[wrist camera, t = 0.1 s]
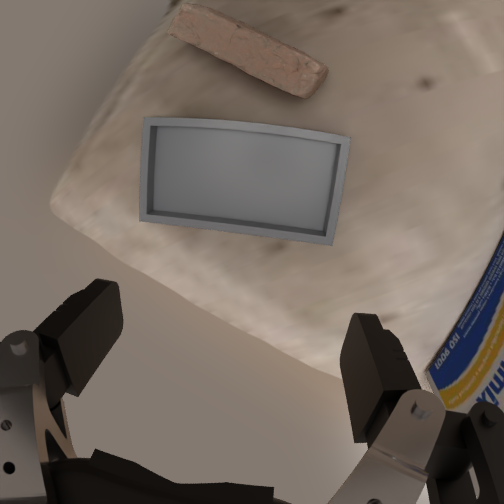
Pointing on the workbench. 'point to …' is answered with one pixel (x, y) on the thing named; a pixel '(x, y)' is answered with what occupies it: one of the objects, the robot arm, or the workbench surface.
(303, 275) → the workbench surface
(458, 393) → the construction material bag
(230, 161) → the tray
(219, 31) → the brick
